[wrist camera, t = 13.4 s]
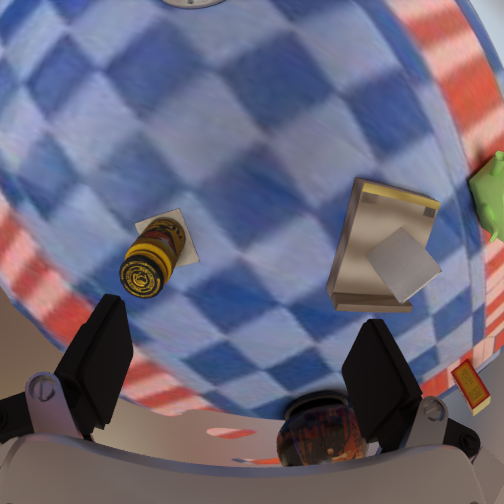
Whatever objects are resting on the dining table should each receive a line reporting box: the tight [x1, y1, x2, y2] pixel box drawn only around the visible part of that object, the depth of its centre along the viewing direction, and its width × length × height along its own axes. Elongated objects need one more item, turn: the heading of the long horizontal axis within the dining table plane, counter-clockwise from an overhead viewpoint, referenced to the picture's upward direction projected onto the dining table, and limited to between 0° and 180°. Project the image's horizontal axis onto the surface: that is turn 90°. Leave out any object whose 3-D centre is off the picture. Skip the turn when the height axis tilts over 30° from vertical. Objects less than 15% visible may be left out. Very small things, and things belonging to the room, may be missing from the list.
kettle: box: [469, 151, 504, 243], centre depth 31 cm, size 15×14×11 cm
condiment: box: [119, 209, 199, 299], centre depth 34 cm, size 7×8×12 cm
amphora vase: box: [276, 392, 369, 467], centre depth 47 cm, size 22×22×28 cm
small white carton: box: [365, 227, 442, 304], centre depth 33 cm, size 4×7×10 cm, turn 131°
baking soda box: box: [451, 359, 490, 416], centre depth 53 cm, size 10×6×16 cm
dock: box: [326, 177, 441, 313], centre depth 37 cm, size 18×14×6 cm
